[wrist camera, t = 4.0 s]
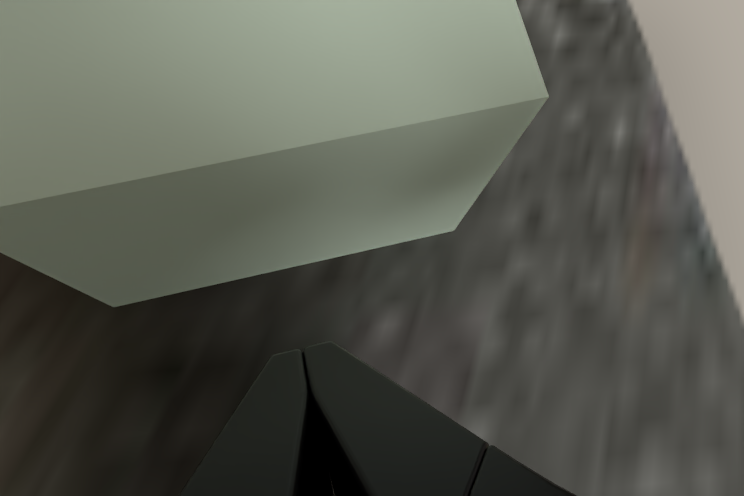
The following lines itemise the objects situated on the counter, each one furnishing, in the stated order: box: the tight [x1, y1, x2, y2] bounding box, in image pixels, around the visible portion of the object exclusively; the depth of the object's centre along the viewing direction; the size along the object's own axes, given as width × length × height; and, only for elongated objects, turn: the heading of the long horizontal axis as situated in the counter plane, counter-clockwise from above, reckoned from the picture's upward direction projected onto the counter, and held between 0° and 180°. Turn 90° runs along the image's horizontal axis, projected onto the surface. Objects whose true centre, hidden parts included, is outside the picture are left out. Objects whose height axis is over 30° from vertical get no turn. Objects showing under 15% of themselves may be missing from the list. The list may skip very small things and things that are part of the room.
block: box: [0, 0, 549, 307], centre depth 18 cm, size 9×12×10 cm
